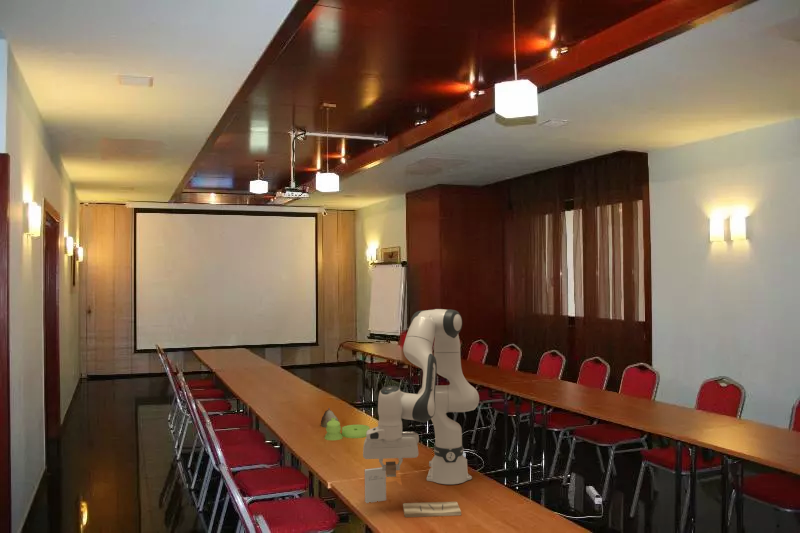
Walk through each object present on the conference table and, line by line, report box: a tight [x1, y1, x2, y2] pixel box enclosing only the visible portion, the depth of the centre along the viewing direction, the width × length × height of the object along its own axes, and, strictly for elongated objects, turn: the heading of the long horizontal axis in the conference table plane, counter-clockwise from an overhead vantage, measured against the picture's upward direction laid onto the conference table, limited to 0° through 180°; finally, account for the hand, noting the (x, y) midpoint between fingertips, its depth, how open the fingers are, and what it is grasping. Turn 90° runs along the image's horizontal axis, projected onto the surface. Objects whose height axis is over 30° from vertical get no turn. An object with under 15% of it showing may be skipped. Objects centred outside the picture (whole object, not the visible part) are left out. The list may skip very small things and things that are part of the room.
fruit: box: [320, 408, 340, 429], centre depth 369 cm, size 10×9×12 cm
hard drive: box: [364, 466, 387, 504], centre depth 250 cm, size 2×8×12 cm, turn 112°
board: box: [402, 501, 462, 518], centre depth 239 cm, size 11×20×1 cm, turn 93°
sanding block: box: [385, 461, 397, 478], centre depth 240 cm, size 5×4×4 cm
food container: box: [324, 418, 371, 441], centre depth 347 cm, size 25×15×13 cm, turn 122°
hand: (390, 470), depth 241 cm, fingers closed on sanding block, 3 cm apart
